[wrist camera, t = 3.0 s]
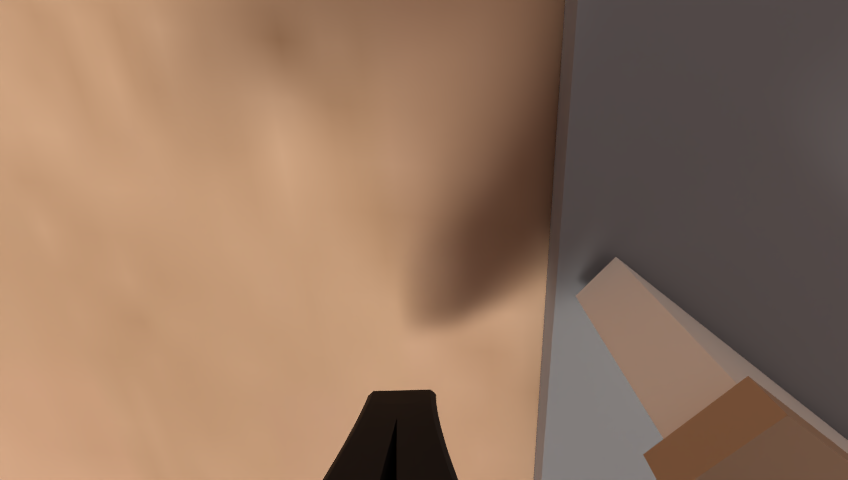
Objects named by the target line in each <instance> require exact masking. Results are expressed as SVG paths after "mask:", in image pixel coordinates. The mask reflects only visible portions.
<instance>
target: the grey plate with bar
mask: <svg viewBox="0 0 848 480" xmlns="http://www.w3.org/2000/svg"><path fill="white" fill-rule="evenodd" d="M615 257H617V258H618V259H619V260H621V261H622V262H623V263H624V264H626V265H627V266H628V267H629V268H631V269H632V270H633V271H634V272H636V273H637V274H638V275H640V276H641V277H642V278H643V279H645V280H646V281H647V282H648V283H650V284H651V285H652V286H653V287H655V288H656V289H657V290H659V291H660V292H661V293H662V294H664V295H665V296H666V297H667V298H669V299H670V300H671V301H672V302H674V303H675V304H676V305H677V306H679V307H680V308H681V309H683V310H684V311H685V312H686V313H688V314H689V315H690V316H691V317H693V318H694V319H695V320H696V321H698V322H699V323H700V324H701V325H703V326H704V327H705V328H707V329H708V330H709V331H710V332H712V333H713V334H714V335H715V336H717V337H718V338H719V339H720V340H722V341H723V342H724V343H725V344H727V345H728V346H729V347H731V348H732V349H733V350H734V351H736V352H737V353H738V354H739V355H741V356H742V357H743V358H744V359H746V360H747V361H748V362H749V363H751V364H752V365H753V366H755V367H756V368H757V369H758V370H760V371H761V372H762V373H763V374H765V375H766V376H767V377H768V378H770V379H771V380H772V381H773V382H775V383H776V384H777V385H779V386H780V387H781V388H782V389H784V390H785V391H786V392H787V393H789V394H790V395H791V396H792V397H794V398H795V399H796V400H798V401H799V402H800V403H801V404H803V405H804V406H805V407H806V408H808V409H809V410H810V411H811V412H813V413H814V414H815V415H816V416H818V417H819V418H820V419H822V420H823V421H824V422H825V423H827V424H828V425H829V426H830V427H832V428H833V429H834V430H835V431H837V432H838V433H839V434H840V435H842V436H843V437H844V438H846V439H847V440H848V0H565V11H564V27H563V42H562V57H561V72H560V87H559V102H558V118H557V133H556V148H555V163H554V178H553V194H552V209H551V224H550V239H549V254H548V269H547V285H546V300H545V315H544V330H543V345H542V361H541V376H540V391H539V406H538V421H537V437H536V452H535V467H534V480H657V479H656V477H655V476H654V474H653V472H652V470H651V468H650V466H649V465H648V463H647V461H646V459H645V457H644V455H643V454H644V453H646V452H647V451H648V450H650V449H651V448H652V447H654V446H655V445H656V444H658V443H659V442H660V441H662V440H663V437H662V436H661V434H660V433H659V431H658V429H657V428H656V426H655V424H654V423H653V421H652V420H651V418H650V416H649V415H648V413H647V411H646V410H645V408H644V407H643V405H642V403H641V402H640V400H639V398H638V397H637V395H636V394H635V392H634V390H633V389H632V387H631V385H630V384H629V382H628V381H627V379H626V377H625V376H624V374H623V372H622V371H621V369H620V368H619V366H618V364H617V363H616V361H615V359H614V358H613V356H612V355H611V353H610V351H609V350H608V348H607V346H606V345H605V343H604V342H603V340H602V338H601V337H600V335H599V333H598V332H597V330H596V329H595V327H594V325H593V324H592V322H591V320H590V319H589V317H588V316H587V314H586V312H585V311H584V309H583V308H582V306H581V304H580V303H579V301H578V299H577V298H576V295H577V294H578V293H579V292H580V291H581V290H582V289H583V288H584V287H585V286H586V285H587V284H588V283H589V282H590V281H591V280H592V279H593V278H594V277H595V276H597V275H598V274H599V273H600V272H601V271H602V270H603V269H604V268H605V267H606V266H607V265H608V264H609V263H610V262H611V261H612V260H613V259H614V258H615Z"/></svg>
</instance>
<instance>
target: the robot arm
mask: <svg viewBox="0 0 848 480" xmlns="http://www.w3.org/2000/svg"><path fill="white" fill-rule="evenodd" d="M323 480H458V478H457V476H456V473H455V470H454V467H453V465H452V462H451V459H450V456H449V453H448V450H447V447H446V444H445V440H444V437H443V433H442V429H441V426H440V421H439V417H438V412H437V405H436V394H435V393H434V392H433V391H431V390H401V391H373V392H372V393H371V394H370V395H369V396H368V398H367V400H366V403H365V405H364V407H363V409H362V411H361V413H360V415H359V417H358V419H357V421H356V423H355V425H354V427H353V429H352V430H351V432H350V434H349V436H348V438H347V440H346V441H345V443H344V445H343V447H342V448H341V450H340V452H339V454H338V455H337V457H336V459H335V460H334V462H333V464H332V465H331V467H330V469H329V470H328V472H327V474H326V475H325V477H324V479H323Z"/></svg>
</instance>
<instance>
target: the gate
mask: <svg viewBox="0 0 848 480" xmlns="http://www.w3.org/2000/svg"><path fill="white" fill-rule="evenodd" d="M576 298H577V299H578V301H579V303H580V304H581V306H582V308H583V309H584V311H585V312H586V314H587V316H588V317H589V319H590V320H591V322H592V324H593V325H594V327H595V329H596V330H597V332H598V333H599V335H600V337H601V338H602V340H603V342H604V343H605V345H606V346H607V348H608V350H609V351H610V353H611V355H612V356H613V358H614V359H615V361H616V363H617V364H618V366H619V368H620V369H621V371H622V372H623V374H624V376H625V377H626V379H627V381H628V382H629V384H630V385H631V387H632V389H633V390H634V392H635V394H636V395H637V397H638V398H639V400H640V402H641V403H642V405H643V407H644V408H645V410H646V411H647V413H648V415H649V416H650V418H651V420H652V421H653V423H654V424H655V426H656V428H657V429H658V431H659V433H660V434H661V436H662V437H663V440H662V441H660V442H659V443H658V444H656V445H655V446H654V447H652V448H651V449H650V450H648V451H647V452H646V453H644V454H643V455H644V457H645V459H646V461H647V463H648V465H649V466H650V468H651V470H652V472H653V474H654V476H655V477H656V479H657V480H848V440H847V439H846V438H844V437H843V436H842V435H840V434H839V433H838V432H837V431H835V430H834V429H833V428H832V427H830V426H829V425H828V424H827V423H825V422H824V421H823V420H822V419H820V418H819V417H818V416H816V415H815V414H814V413H813V412H811V411H810V410H809V409H808V408H806V407H805V406H804V405H803V404H801V403H800V402H799V401H798V400H796V399H795V398H794V397H792V396H791V395H790V394H789V393H787V392H786V391H785V390H784V389H782V388H781V387H780V386H779V385H777V384H776V383H775V382H773V381H772V380H771V379H770V378H768V377H767V376H766V375H765V374H763V373H762V372H761V371H760V370H758V369H757V368H756V367H755V366H753V365H752V364H751V363H749V362H748V361H747V360H746V359H744V358H743V357H742V356H741V355H739V354H738V353H737V352H736V351H734V350H733V349H732V348H731V347H729V346H728V345H727V344H725V343H724V342H723V341H722V340H720V339H719V338H718V337H717V336H715V335H714V334H713V333H712V332H710V331H709V330H708V329H707V328H705V327H704V326H703V325H701V324H700V323H699V322H698V321H696V320H695V319H694V318H693V317H691V316H690V315H689V314H688V313H686V312H685V311H684V310H683V309H681V308H680V307H679V306H677V305H676V304H675V303H674V302H672V301H671V300H670V299H669V298H667V297H666V296H665V295H664V294H662V293H661V292H660V291H659V290H657V289H656V288H655V287H653V286H652V285H651V284H650V283H648V282H647V281H646V280H645V279H643V278H642V277H641V276H640V275H638V274H637V273H636V272H634V271H633V270H632V269H631V268H629V267H628V266H627V265H626V264H624V263H623V262H622V261H621V260H619V259H618V258H617V257H615V258H614V259H613V260H612V261H611V262H610V263H609V264H608V265H607V266H606V267H605V268H604V269H603V270H602V271H601V272H600V273H599V274H598V275H597V276H595V277H594V278H593V279H592V280H591V281H590V282H589V283H588V284H587V285H586V286H585V287H584V288H583V289H582V290H581V291H580V292H579V293H578V294H577V295H576Z"/></svg>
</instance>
